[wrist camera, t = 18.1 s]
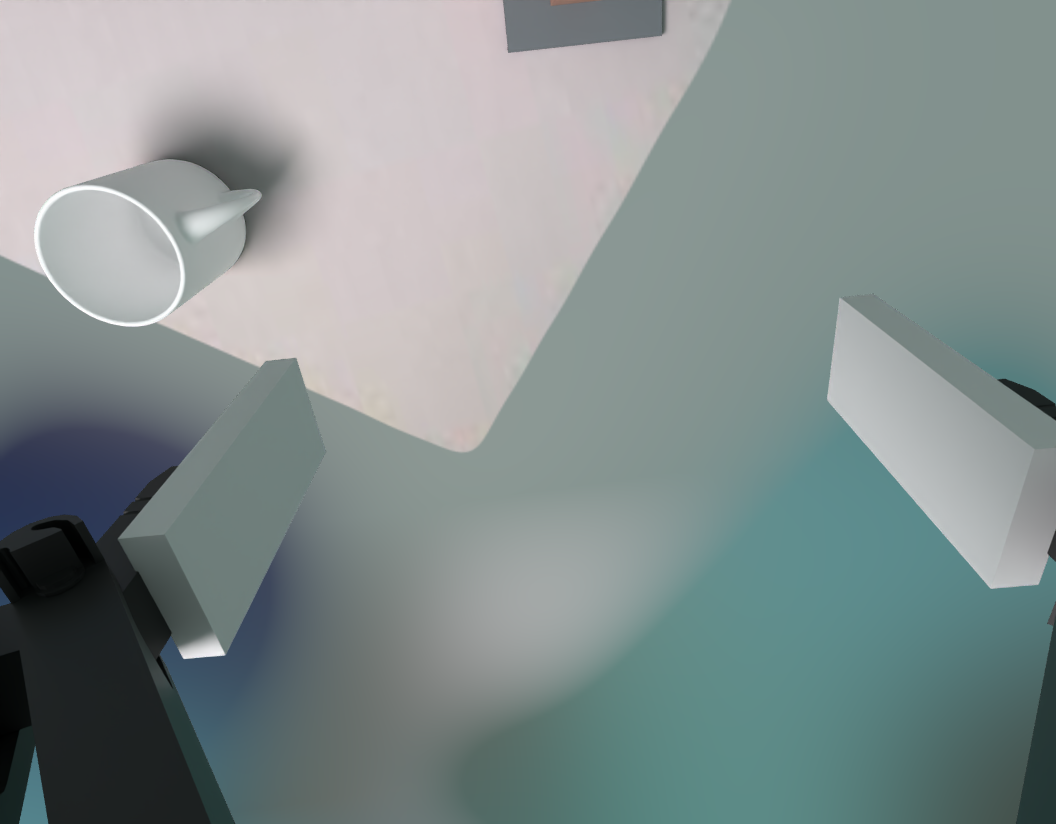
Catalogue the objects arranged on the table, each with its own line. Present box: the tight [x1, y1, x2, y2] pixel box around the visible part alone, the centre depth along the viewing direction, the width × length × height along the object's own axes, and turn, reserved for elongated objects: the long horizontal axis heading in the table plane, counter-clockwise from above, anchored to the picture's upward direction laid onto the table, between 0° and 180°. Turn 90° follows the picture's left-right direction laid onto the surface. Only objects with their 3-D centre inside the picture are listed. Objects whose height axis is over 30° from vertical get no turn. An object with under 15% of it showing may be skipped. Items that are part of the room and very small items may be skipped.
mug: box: [34, 159, 262, 326], centre depth 43 cm, size 9×12×11 cm
